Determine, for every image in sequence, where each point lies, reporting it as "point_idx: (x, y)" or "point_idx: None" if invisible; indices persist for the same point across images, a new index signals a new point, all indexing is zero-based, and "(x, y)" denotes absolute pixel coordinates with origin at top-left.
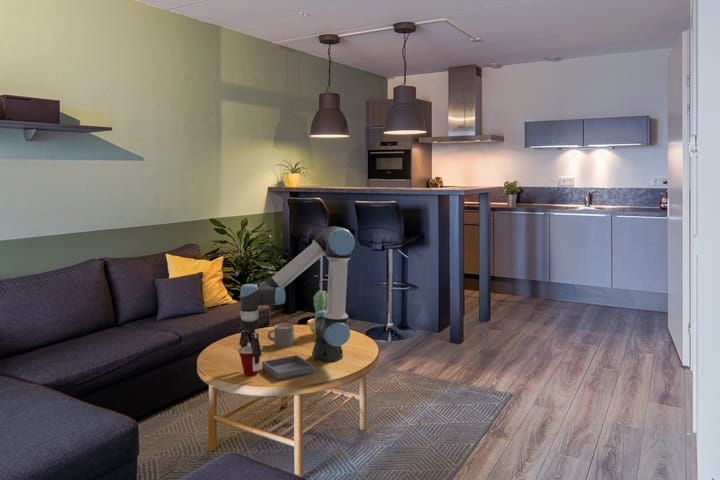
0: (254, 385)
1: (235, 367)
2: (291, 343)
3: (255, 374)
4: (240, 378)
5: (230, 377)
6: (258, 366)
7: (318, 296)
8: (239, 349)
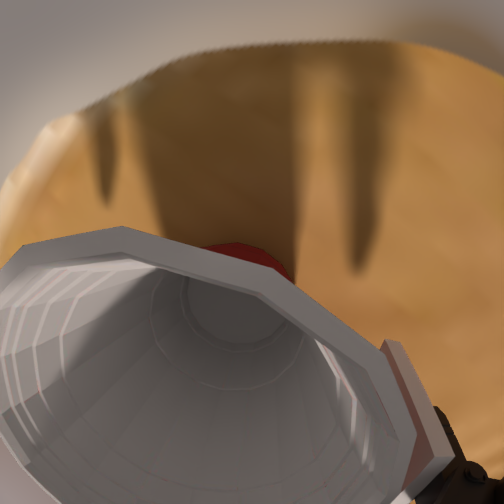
0: (47, 176)
1: (457, 303)
2: None
3: (184, 305)
4: (214, 173)
5: (300, 124)
6: None
7: None
8: (372, 393)
